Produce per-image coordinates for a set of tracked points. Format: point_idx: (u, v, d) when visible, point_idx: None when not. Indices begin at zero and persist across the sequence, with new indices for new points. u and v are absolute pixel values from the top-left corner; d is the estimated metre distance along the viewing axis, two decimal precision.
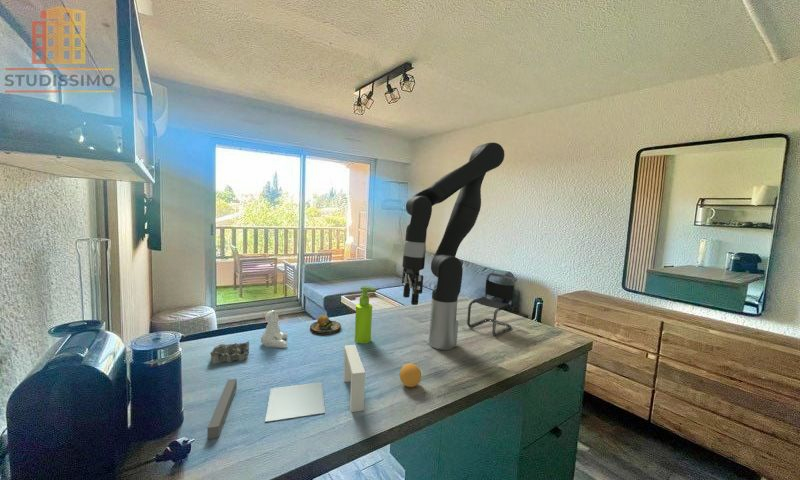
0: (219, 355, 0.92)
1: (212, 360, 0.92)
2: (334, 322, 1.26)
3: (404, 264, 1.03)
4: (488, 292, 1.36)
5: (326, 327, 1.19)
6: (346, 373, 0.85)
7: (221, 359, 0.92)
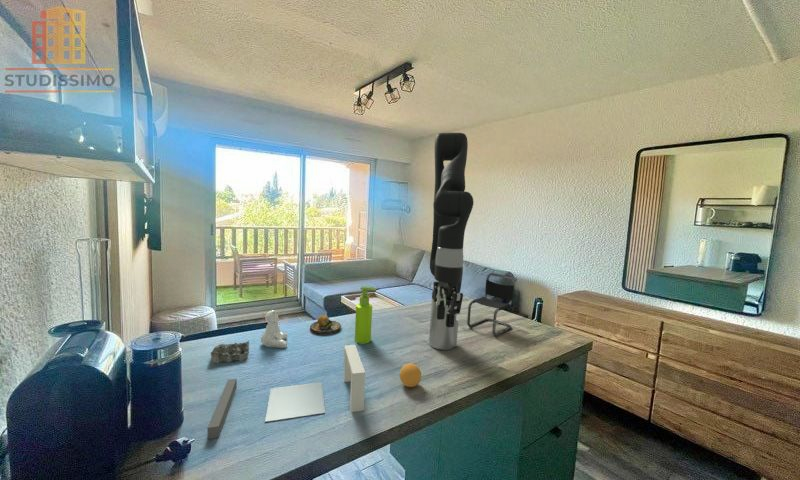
0: (219, 355, 0.92)
1: (212, 360, 0.92)
2: (334, 322, 1.26)
3: (438, 276, 0.83)
4: (488, 292, 1.36)
5: (326, 327, 1.19)
6: (346, 373, 0.85)
7: (221, 359, 0.93)
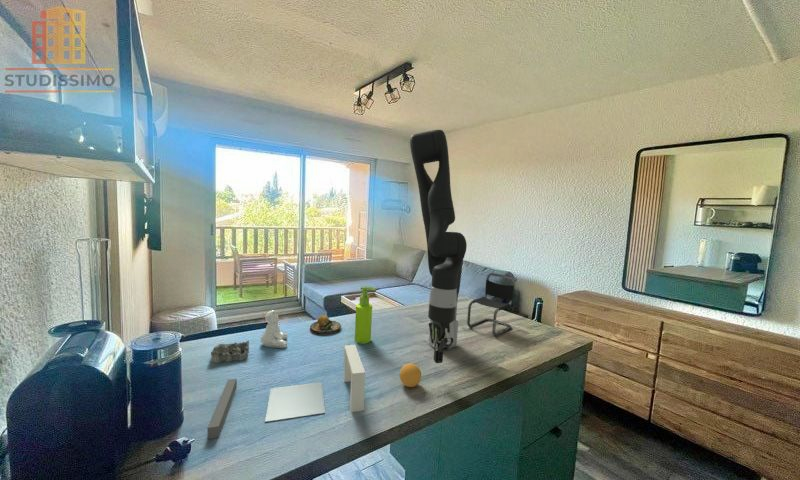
0: (220, 355, 0.92)
1: (212, 360, 0.92)
2: (334, 322, 1.26)
3: (431, 315, 0.84)
4: (488, 292, 1.36)
5: (326, 327, 1.19)
6: (346, 373, 0.85)
7: (222, 358, 0.93)
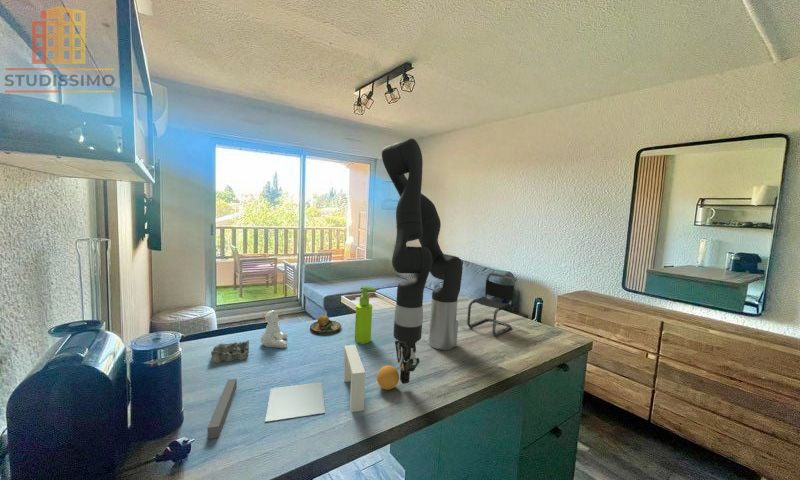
0: (220, 354, 0.92)
1: (213, 359, 0.92)
2: (334, 322, 1.26)
3: (396, 334, 0.80)
4: (488, 292, 1.36)
5: (326, 327, 1.19)
6: (346, 373, 0.85)
7: (222, 358, 0.93)
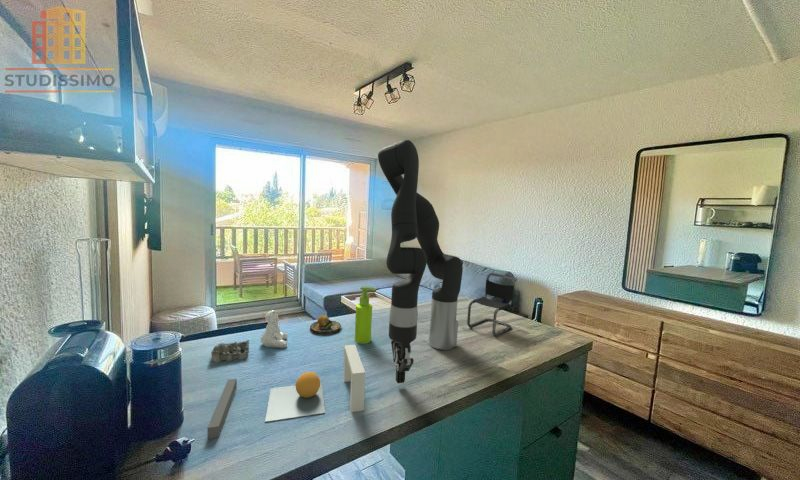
0: (220, 354, 0.93)
1: (213, 359, 0.92)
2: (334, 322, 1.26)
3: (391, 335, 0.80)
4: (488, 292, 1.36)
5: (326, 327, 1.19)
6: (346, 373, 0.85)
7: (222, 358, 0.93)
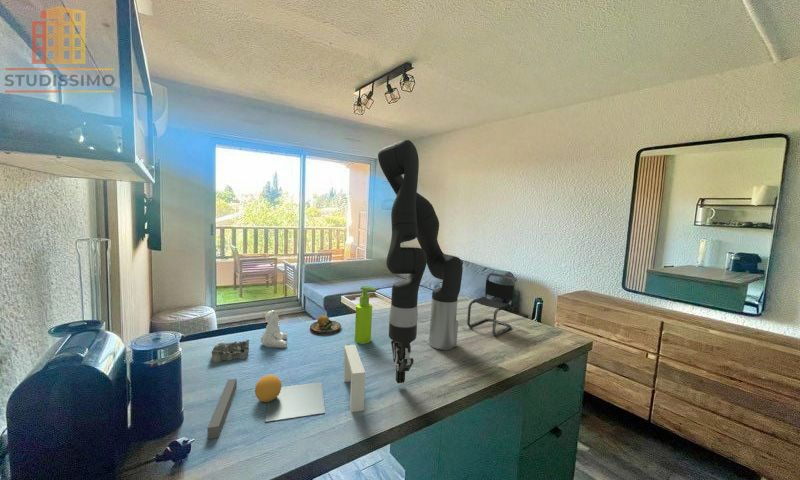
0: (220, 354, 0.93)
1: (213, 359, 0.92)
2: (334, 322, 1.26)
3: (391, 335, 0.80)
4: (488, 292, 1.36)
5: (326, 327, 1.19)
6: (346, 373, 0.85)
7: (222, 357, 0.93)
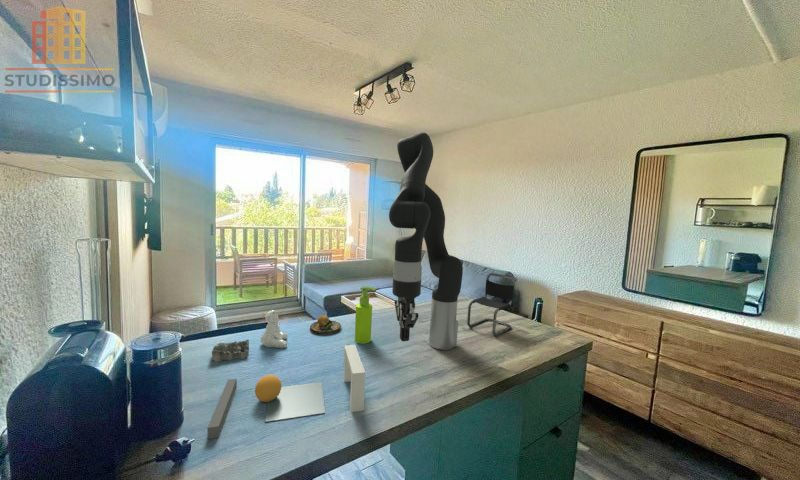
0: (220, 353, 0.93)
1: (213, 359, 0.93)
2: (334, 322, 1.26)
3: (395, 290, 0.79)
4: (488, 292, 1.36)
5: (326, 327, 1.19)
6: (346, 373, 0.85)
7: (222, 357, 0.94)
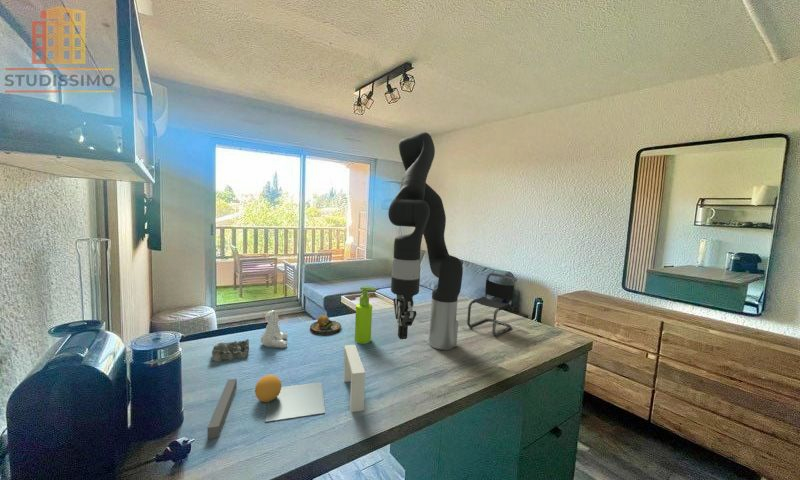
0: (221, 353, 0.93)
1: (213, 358, 0.93)
2: (334, 322, 1.26)
3: (393, 288, 0.79)
4: (488, 292, 1.36)
5: (326, 327, 1.19)
6: (346, 373, 0.85)
7: (222, 357, 0.94)
